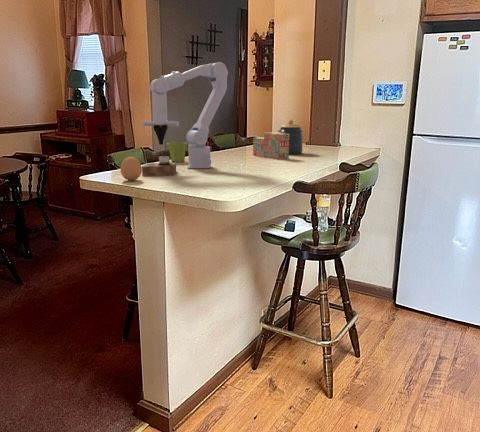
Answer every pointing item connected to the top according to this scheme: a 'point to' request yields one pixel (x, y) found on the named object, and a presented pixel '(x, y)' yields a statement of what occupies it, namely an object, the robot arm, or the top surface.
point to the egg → (131, 168)
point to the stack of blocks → (272, 146)
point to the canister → (293, 136)
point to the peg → (164, 160)
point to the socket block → (158, 169)
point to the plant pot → (177, 151)
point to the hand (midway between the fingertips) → (161, 144)
